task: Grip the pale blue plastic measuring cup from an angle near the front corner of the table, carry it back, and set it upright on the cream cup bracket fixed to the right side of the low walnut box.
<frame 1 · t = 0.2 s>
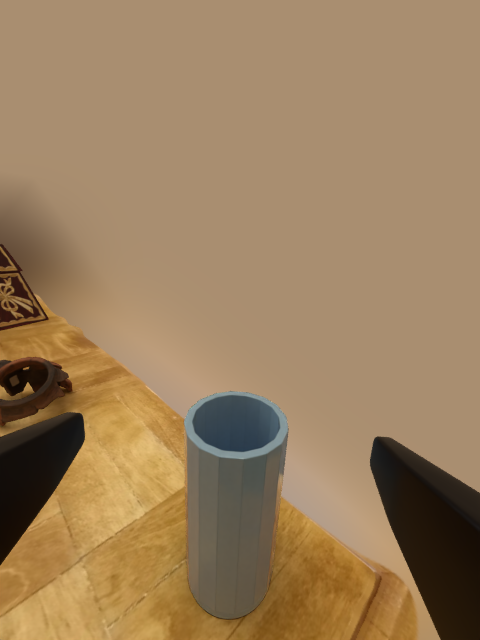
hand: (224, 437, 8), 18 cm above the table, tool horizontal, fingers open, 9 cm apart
pottery mug: (32, 405, 38), on the table
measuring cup: (229, 563, 21), on the table
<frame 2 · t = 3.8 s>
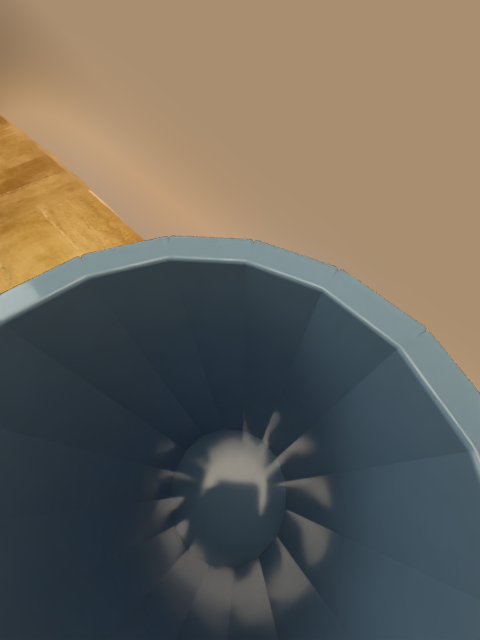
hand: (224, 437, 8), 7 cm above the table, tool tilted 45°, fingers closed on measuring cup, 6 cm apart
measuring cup: (228, 489, 13), on the table, touching gripper
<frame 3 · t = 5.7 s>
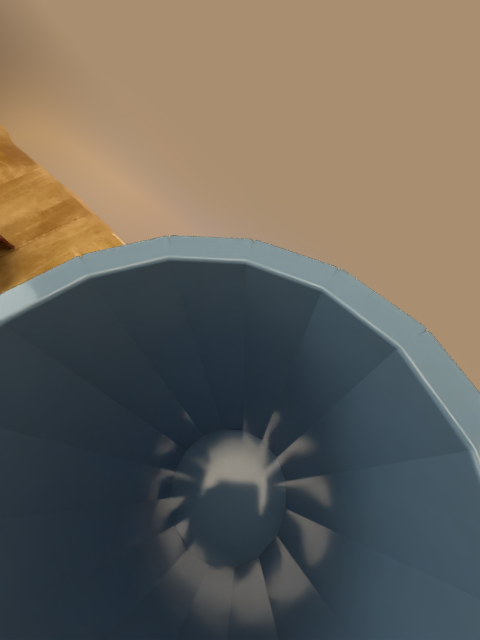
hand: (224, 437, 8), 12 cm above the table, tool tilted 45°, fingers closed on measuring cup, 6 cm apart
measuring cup: (228, 489, 13), point 6 cm above the table, touching gripper
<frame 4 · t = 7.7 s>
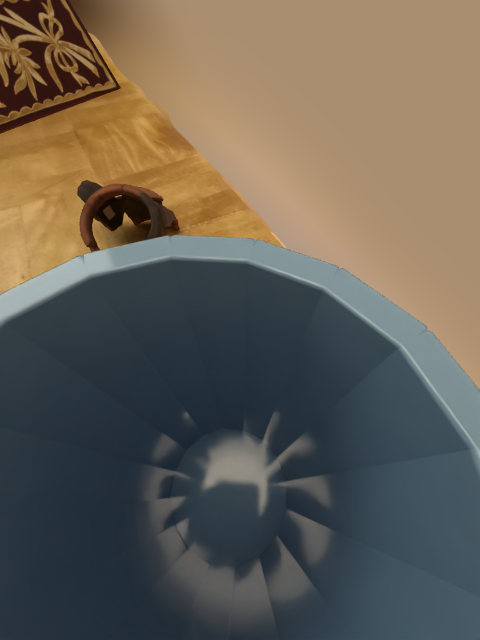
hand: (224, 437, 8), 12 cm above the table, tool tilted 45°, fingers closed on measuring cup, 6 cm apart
pottery mug: (138, 247, 30), on the table
decorative box: (13, 105, 51), on the table
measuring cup: (229, 489, 13), point 6 cm above the table, touching gripper
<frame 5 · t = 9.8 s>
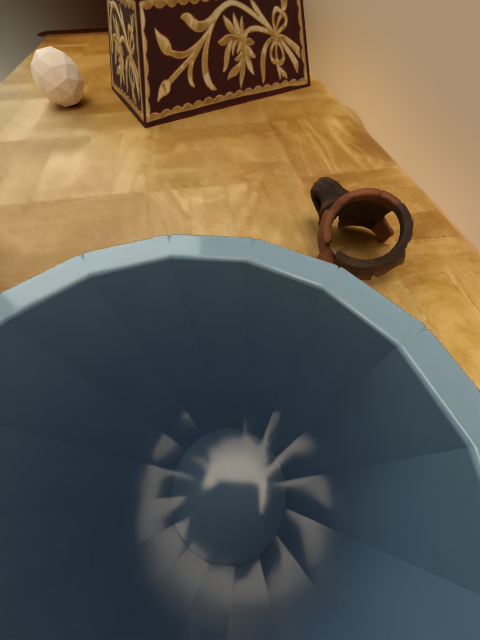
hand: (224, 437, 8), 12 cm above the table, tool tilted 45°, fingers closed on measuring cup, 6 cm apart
pottery mug: (341, 251, 30), on the table
geometric ball: (70, 105, 51), on the table
decorative box: (211, 88, 54), on the table
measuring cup: (229, 489, 13), point 6 cm above the table, touching gripper
when the fingers open (9 cm above the table, at t = 11.6 s): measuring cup stays where it is, resting on walnut box.
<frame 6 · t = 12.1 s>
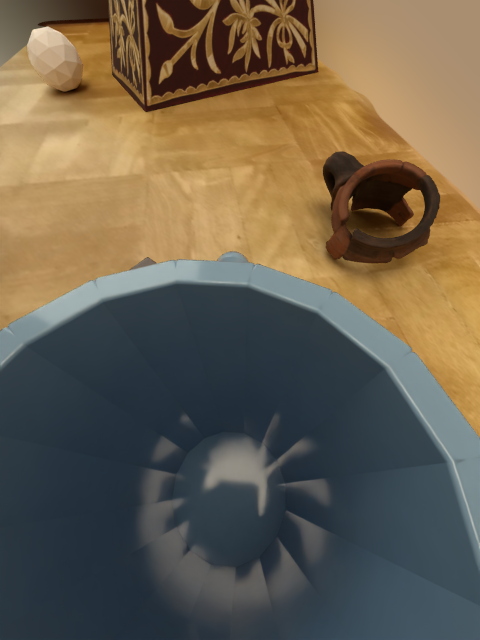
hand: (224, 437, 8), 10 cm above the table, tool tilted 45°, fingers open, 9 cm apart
pottery mug: (355, 234, 28), on the table
geometric ball: (69, 90, 49), on the table
decorative box: (215, 74, 52), on the table
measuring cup: (229, 491, 14), point 2 cm above the table, touching walnut box
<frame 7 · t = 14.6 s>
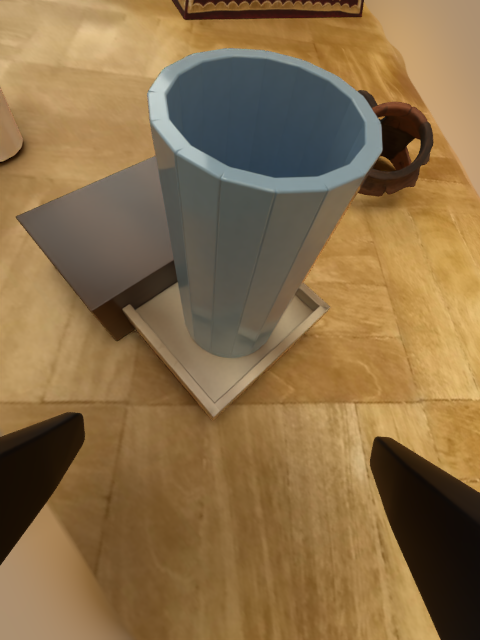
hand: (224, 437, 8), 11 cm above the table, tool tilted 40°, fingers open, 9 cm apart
pottery mug: (359, 175, 32), on the table
walnut box: (158, 255, 23), on the table
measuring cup: (230, 314, 19), point 2 cm above the table, touching walnut box
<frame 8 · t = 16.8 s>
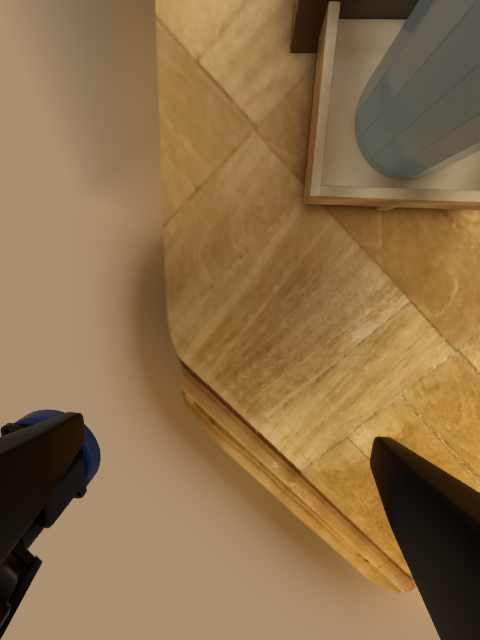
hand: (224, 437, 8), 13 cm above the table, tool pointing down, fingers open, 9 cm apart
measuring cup: (413, 117, 15), point 2 cm above the table, touching walnut box
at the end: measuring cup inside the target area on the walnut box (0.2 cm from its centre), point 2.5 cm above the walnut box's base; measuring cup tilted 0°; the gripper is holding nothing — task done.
